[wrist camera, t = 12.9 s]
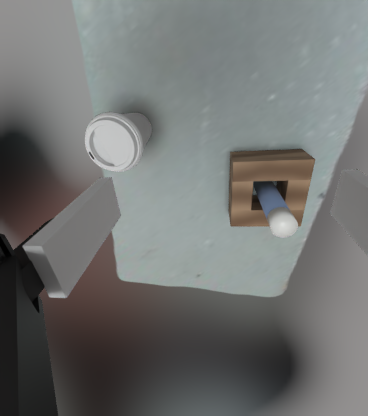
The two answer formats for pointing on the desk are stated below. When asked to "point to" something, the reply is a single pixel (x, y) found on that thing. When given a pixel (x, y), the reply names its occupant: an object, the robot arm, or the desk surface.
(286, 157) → the socket block
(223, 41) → the desk surface
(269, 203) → the marker
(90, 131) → the coffee cup
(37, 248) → the robot arm
